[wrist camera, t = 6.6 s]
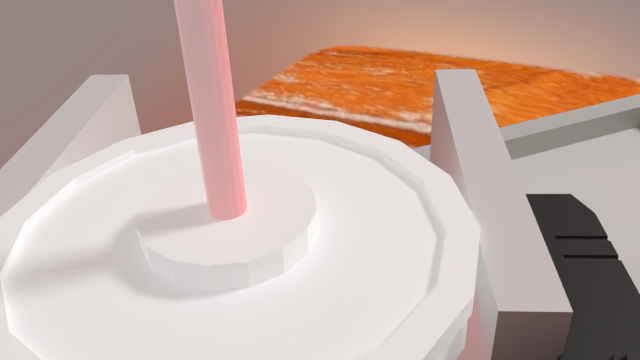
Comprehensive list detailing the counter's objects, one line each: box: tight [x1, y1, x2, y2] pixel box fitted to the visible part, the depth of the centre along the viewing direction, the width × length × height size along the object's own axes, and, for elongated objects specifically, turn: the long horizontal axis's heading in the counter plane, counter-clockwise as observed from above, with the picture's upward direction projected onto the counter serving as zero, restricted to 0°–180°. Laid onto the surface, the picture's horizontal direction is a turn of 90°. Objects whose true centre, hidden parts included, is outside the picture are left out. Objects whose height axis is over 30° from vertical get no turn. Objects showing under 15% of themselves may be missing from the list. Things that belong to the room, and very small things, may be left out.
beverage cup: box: [0, 0, 481, 360], centre depth 9 cm, size 6×6×14 cm
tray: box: [412, 94, 640, 360], centre depth 20 cm, size 18×12×2 cm, turn 111°
